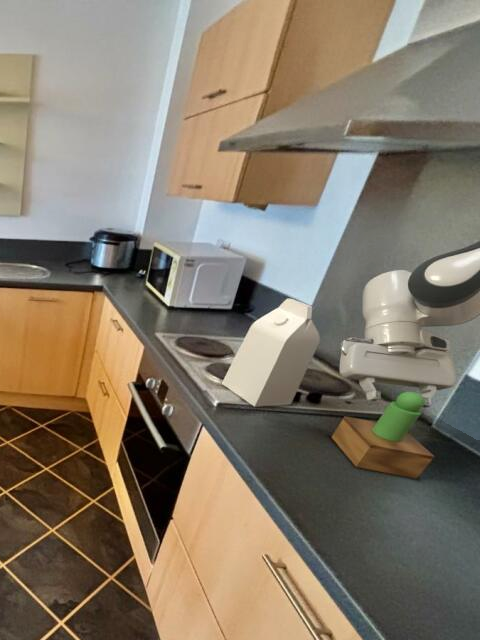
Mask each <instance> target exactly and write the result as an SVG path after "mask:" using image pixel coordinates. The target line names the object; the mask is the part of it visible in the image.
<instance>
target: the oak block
mask: <svg viewBox="0 0 480 640" xmlns="http://www.w3.org/2000/svg"><path fill="white" fill-rule="evenodd" d="M377 422H378V421H373V420H367V419H363V418H357V417H351V416H344V417H343V418H342V420H341V421H340V422H339V424H338V425H337V428H336V429H335V431H334V432H333V434H332V436H331V438H332V440H333V441H334V442H335V443H336V445H337V446H338V447H339V449H341V451H342V452H343V453H344V454H345V456H346V457H347V458H348V459H349V460H350V461H351V463H352V464H353V465H354V466H355V467H356V468H360V469H365V470H371V471H375V472H381V473H386V474H390V475H395V476H400V477H405V478H410V479H418V478H419V477H420V475H421V474H422V473H423V472H424V470H425V469H426V468H427V467H428V466H429V464H430V463H431V462H432V461H433V459H434V458H435V455H434V454H433V453H431V452H430V451H429V450H428V449H427V448H426V447H425V446H424V445H422V443H420V442H419V441H418V440H417V439H416V438H415V437H414V436H412V435H411V433H409V431H408V432H407V433H406V435H405V436H404V437H403V439H402V440H401V441H400V442H394V441H390V440H386V439H384V438H381V437H379V436H378V435H376V434H375V433H374V432H373V431H372V429H373V428H374V426H375V425H376V423H377Z"/></svg>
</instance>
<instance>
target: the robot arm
mask: <svg viewBox="0 0 480 640" xmlns="http://www.w3.org/2000/svg"><path fill="white" fill-rule="evenodd" d="M361 302H362V304H361V309H362V317H363V319H364V322H365V328H364V330H363V335H364V338H357V337H347V338H346V339H345V338H344V339H343V340H342V341H341V343H340V351H341V353H340V358H339V359H340V360H339V374H340V376H341V377H342V378H343V379H349V380H355V381H358V383H359V386H360V387H361V388H362V390H363V391H364V392H365V396H366V400H367V401H373V402H377V401H381V399H382V396H381V395H382V391H380V390H377V389H376V387H375V385H374V383H380V384H388V385H393V386H401V387H409V388H416V389H417V388H418V392H419V393H421V394H420V395H421V396H423V398H424V400H425V404H424V406H423V407H422V408H423V409H425V408H430V407H432V404H433V403H432V398H433V397H434V396H435V394H436V393H437V391H442V390H446V389H450V388H453V387H454V386H455V385H456V384H457V383H458V375H457V368H456V363H455V359H454V357H453V356H452V355H451V354H450V353H449V351H450V350H452V343H451V342H450V341H449V340H448V339H445V338H442V337H440V336H437V335H435V334H432V333H430V332H428V331H427V330H424V329H422V327H448V326H449V327H451V326H457V325H462V324H466V323H468V322H471V321H473V320H474V319H476V318H478V317H479V316H480V240H479V241H477V242H475V243H472V244H470V245H468V246H465V247H461V248H460V249H456V250H452V251H449V252H445V253H442V254H439V255H436V256H434V257H431V258H429V259H427V260H425V261H423V262H422V263H420V264H418V266H417V267H415V268H414V270H413V271H412V272H411V271H409V270H405V269H395V270H390V271H386V272H384V273H380V274H378V275H376V276H375V277H373V278H372V279H370V280H369V281H367V283H366V284H365V286H364V288H363V292H362V300H361Z"/></svg>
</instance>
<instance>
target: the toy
mask: <svg viewBox="0 0 480 640" xmlns="http://www.w3.org/2000/svg"><path fill="white" fill-rule="evenodd" d="M421 395H422V394H420V393H418V392H415V391H405V392H402V393H400V394H399V395H398V396H397V397H396V399H395V401H390V403H389V404H388V406H387V407H386V408H385V410H384V411H383V413H382V415H381V416H380V417H379V419H378V420H377V421H376V422H377V423H376V425H375V426H374V428H373V429H372V431H373V432H374V433H375V434H376V435H378V436H379V437H381V438H384V439H386V440H390V441H394V442H400V441H401V440H402V439H403V437H404V436H405V435H406V433H407V432H408V433H409V431H410V430H411V428H412V427H413V425H414V424H415V423H416V422H417V420H418V419H419V418H420V416H421V415H422V411H421V409H422V408H423V406H424V404H425V400H424V398H423V396H421Z"/></svg>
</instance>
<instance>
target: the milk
mask: <svg viewBox="0 0 480 640" xmlns="http://www.w3.org/2000/svg"><path fill="white" fill-rule="evenodd" d="M312 314H313V306H311V305H310V304H306V303H304V302H302V301H299V300H296V299H295V298H286V299H285V300H284V301H282V303H281V304H280V305H279V306H278V307H276V308H275V309H273V310H272V311H270V312H268V313H267V314H265V315H263V316H261V317H260V318H258V319H256V320H255V321H254V322H253V323H252V324H251V325H250V327H249V329H248V331H247V333H246V335H245V337H244V339H243V341H242V342H241V345H240V346H239V349H238V351H237V352H236V354H235V356H234V358H233V359H232V362H231V364H230V366H229V368H228V370H227V372H226V373H225V376H224V378H223V380H222V382H221V384H222V385H223V386H224V387H226V388H227V389H229V390H230V391H231V392H233V393H234V394H236V395H237V396H238V397H240V398H241V399H243V400H244V401H245V402H247V403H248V404H250V405H251V406H253V407H258V408H259V407H272V406H273V407H274V406H286V405H287V406H289V405H291V404H292V403H293V401H294V398H295V397H296V394H297V392H298V390H299V388H300V385H301V384H302V381H303V379H304V377H305V375H306V373H307V370H308V368H309V366H310V363H311V361H312V360H313V357H314V355H315V354H316V351H317V349H318V346H319V345H320V342H321V336H320V333H319V331H318V329H317V327H316V326H315V324H314V322H313V320H312V316H313V315H312Z"/></svg>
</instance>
